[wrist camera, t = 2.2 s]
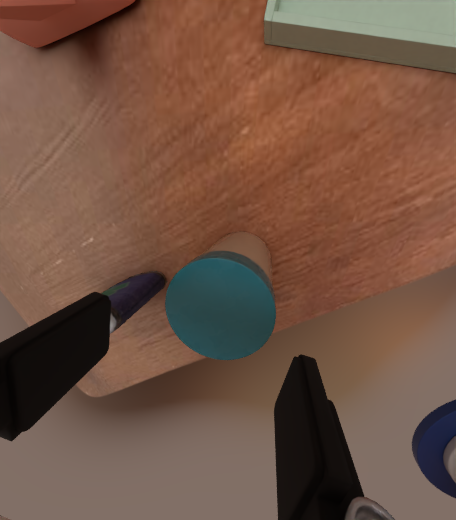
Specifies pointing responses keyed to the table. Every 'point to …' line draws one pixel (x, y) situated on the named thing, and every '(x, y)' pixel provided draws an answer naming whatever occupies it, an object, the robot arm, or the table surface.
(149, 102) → the table surface
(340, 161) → the table surface
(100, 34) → the table surface
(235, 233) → the jar
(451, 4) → the tray
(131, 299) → the flask
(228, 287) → the lid
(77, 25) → the teapot
